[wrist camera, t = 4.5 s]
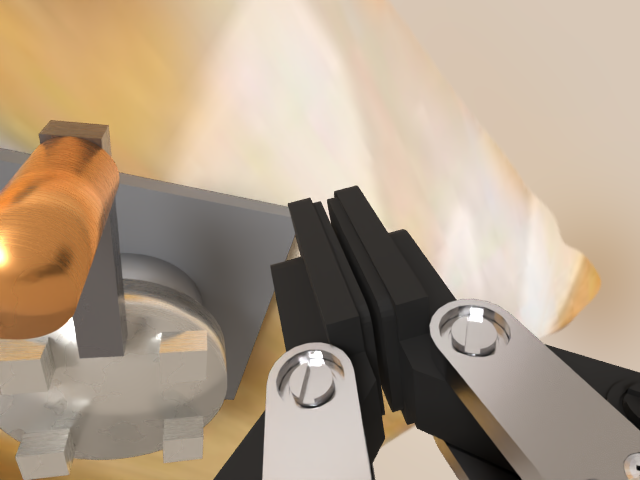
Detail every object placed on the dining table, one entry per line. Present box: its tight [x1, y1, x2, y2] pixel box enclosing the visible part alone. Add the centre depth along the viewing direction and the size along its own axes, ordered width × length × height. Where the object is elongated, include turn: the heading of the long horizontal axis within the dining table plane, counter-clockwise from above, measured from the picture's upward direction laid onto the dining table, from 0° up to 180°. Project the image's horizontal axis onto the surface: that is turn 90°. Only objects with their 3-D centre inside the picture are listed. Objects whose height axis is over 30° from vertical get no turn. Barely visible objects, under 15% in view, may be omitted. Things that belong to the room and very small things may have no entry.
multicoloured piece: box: [0, 120, 227, 480], centre depth 20 cm, size 23×13×12 cm, turn 171°
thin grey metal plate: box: [0, 148, 295, 400], centre depth 30 cm, size 20×20×6 cm
